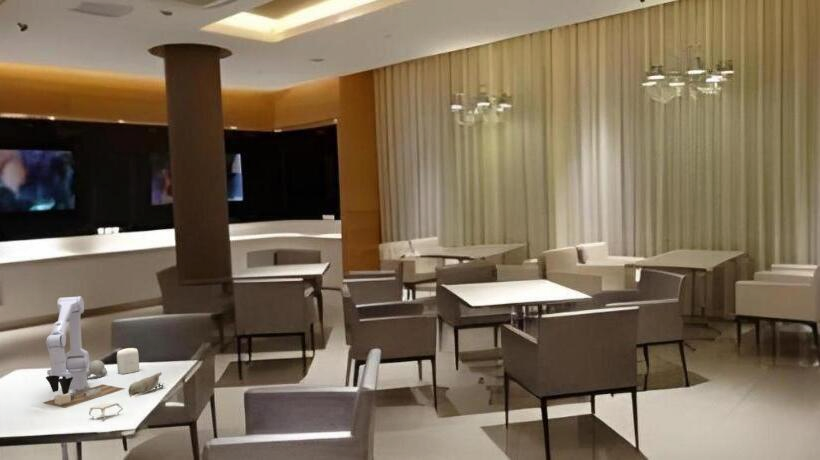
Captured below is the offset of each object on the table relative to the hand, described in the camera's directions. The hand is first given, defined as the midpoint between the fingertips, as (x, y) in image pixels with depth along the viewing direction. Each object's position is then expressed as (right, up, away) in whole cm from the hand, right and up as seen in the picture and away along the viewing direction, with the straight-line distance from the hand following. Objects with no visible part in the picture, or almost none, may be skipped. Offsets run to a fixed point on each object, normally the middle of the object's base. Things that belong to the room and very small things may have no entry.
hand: (60, 392), depth 294 cm
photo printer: (+9, -2, +49) cm, 50 cm away
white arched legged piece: (+28, -6, -18) cm, 34 cm away
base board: (+6, -5, +10) cm, 12 cm away
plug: (+1, -5, +1) cm, 5 cm away
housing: (+7, -4, +10) cm, 13 cm away
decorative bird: (+32, -4, +14) cm, 35 cm away
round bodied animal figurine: (-5, -3, +42) cm, 42 cm away
